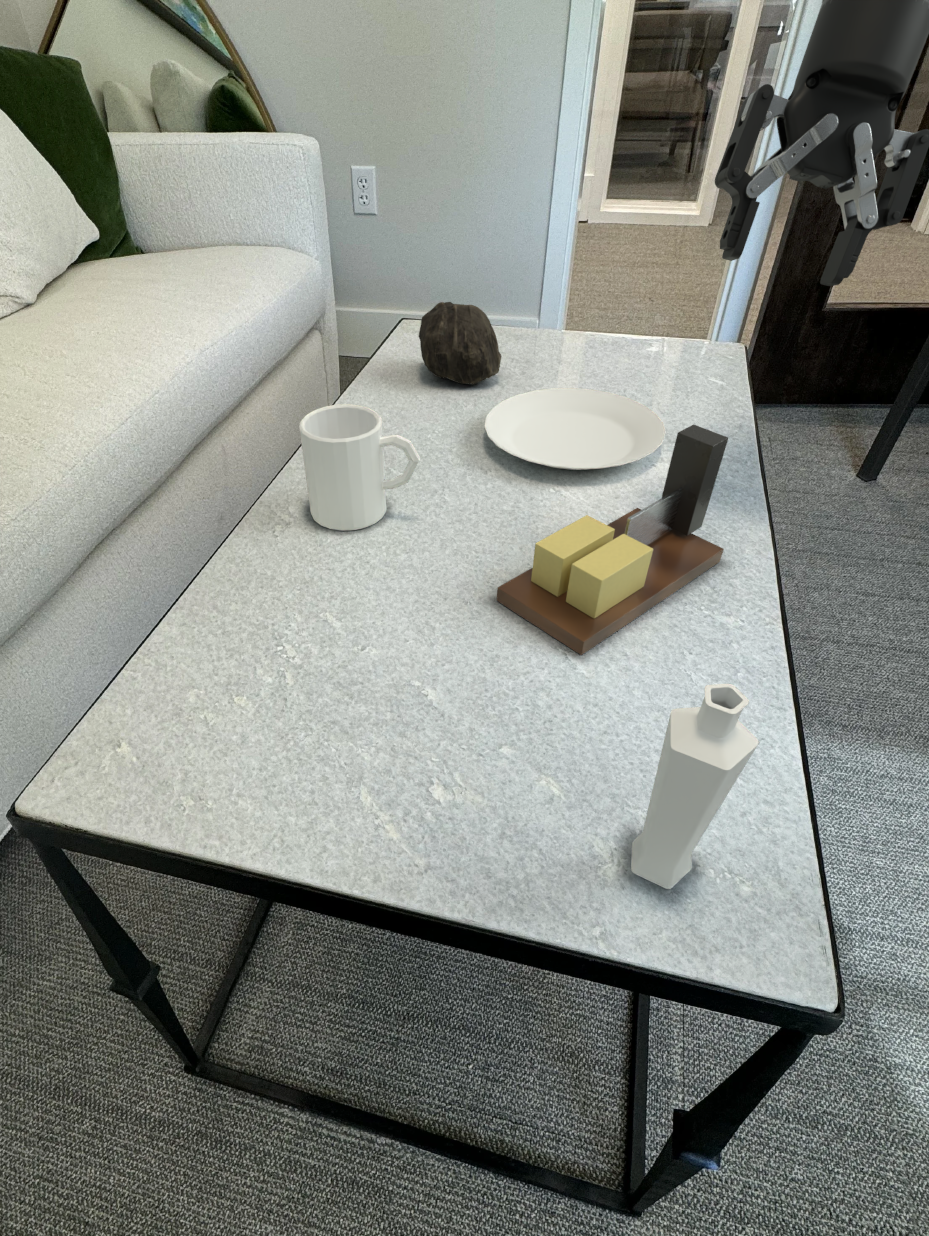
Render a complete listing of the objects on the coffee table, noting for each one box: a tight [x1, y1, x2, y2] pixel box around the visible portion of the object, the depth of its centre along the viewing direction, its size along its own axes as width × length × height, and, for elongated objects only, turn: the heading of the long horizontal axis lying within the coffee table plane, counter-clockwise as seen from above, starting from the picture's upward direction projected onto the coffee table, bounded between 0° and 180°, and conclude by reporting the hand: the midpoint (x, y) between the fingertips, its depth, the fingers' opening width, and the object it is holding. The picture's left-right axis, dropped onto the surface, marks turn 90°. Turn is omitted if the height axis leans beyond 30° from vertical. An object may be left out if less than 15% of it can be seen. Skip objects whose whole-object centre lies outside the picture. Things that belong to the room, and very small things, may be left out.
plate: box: [483, 387, 667, 471], centre depth 86 cm, size 21×21×2 cm
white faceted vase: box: [630, 683, 760, 890], centre depth 41 cm, size 5×4×15 cm
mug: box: [298, 403, 421, 532], centre depth 74 cm, size 8×12×10 cm, turn 74°
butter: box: [531, 514, 653, 619], centre depth 64 cm, size 7×7×4 cm
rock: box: [418, 301, 502, 385], centre depth 99 cm, size 10×11×10 cm
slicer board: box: [496, 507, 725, 656], centre depth 67 cm, size 20×10×2 cm, turn 130°
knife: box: [624, 424, 729, 545], centre depth 66 cm, size 10×4×9 cm, turn 130°
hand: (780, 271), depth 58 cm, fingers open, 8 cm apart
